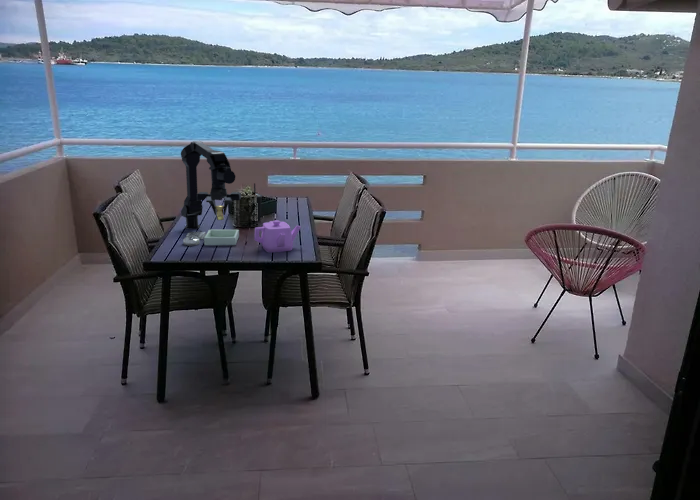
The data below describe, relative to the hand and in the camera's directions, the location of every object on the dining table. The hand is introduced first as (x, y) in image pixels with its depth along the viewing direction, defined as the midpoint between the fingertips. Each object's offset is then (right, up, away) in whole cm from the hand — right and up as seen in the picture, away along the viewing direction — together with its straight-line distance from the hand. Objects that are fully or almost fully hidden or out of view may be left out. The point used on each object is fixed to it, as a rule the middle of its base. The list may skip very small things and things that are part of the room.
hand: (220, 214), depth 226 cm
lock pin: (0, -2, +1) cm, 2 cm away
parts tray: (0, -12, +4) cm, 12 cm away
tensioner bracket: (-13, -11, +4) cm, 18 cm away
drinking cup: (+8, 0, +41) cm, 42 cm away
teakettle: (+27, -15, -3) cm, 31 cm away
